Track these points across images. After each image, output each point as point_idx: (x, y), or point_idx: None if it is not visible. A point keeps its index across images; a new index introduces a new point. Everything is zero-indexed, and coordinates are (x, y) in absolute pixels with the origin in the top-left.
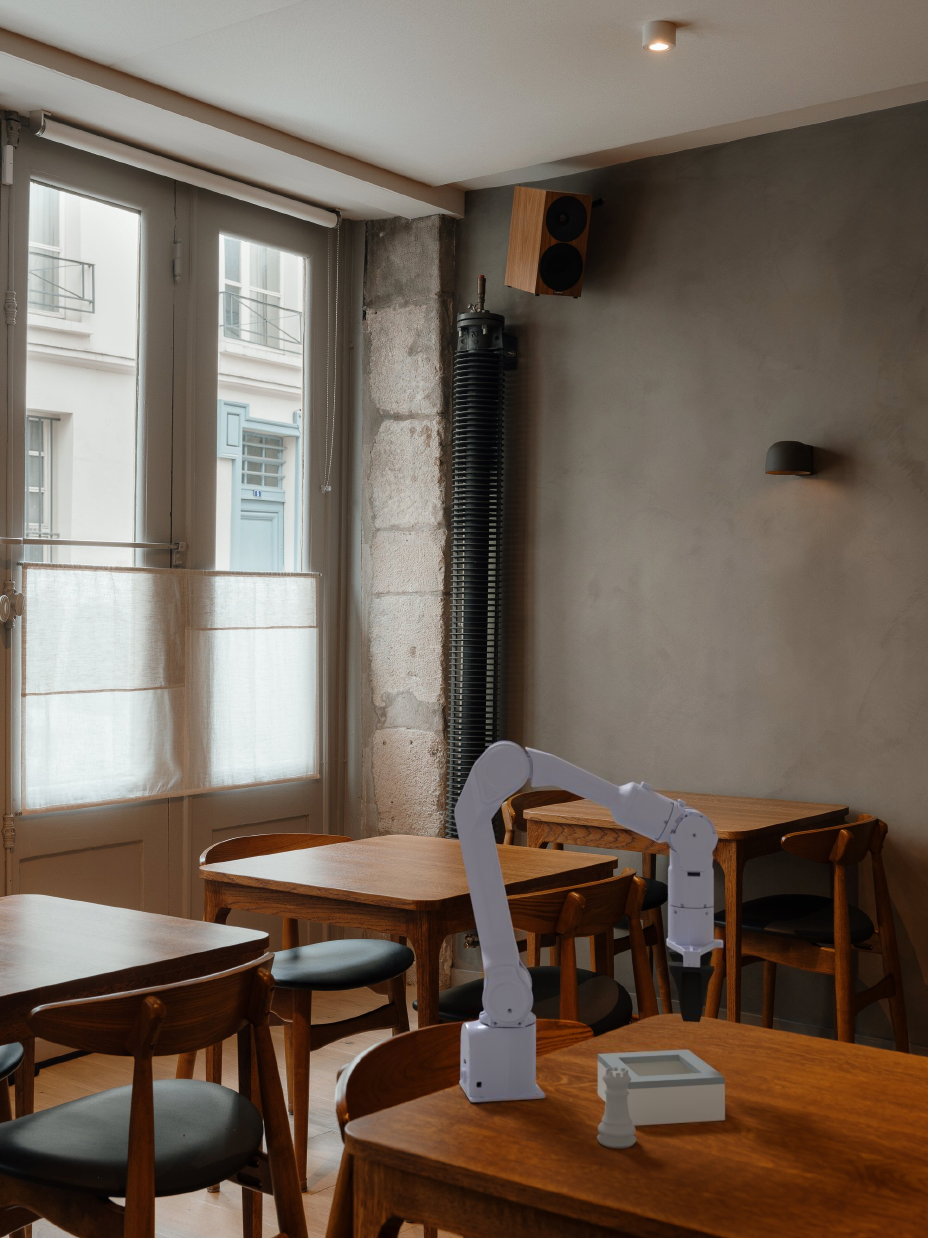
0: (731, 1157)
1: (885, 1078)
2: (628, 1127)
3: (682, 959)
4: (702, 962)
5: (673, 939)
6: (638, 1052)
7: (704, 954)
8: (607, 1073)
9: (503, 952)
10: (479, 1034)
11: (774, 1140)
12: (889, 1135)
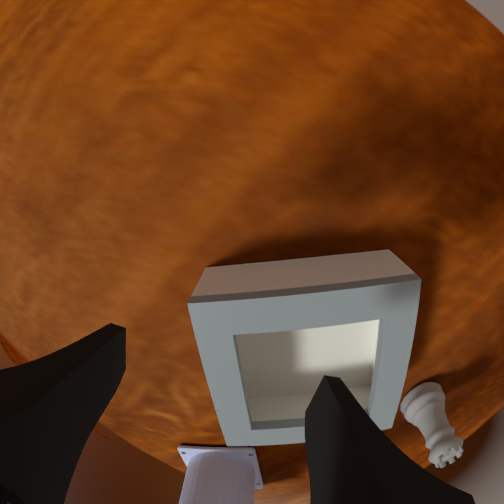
0: (500, 281)
1: None
2: (443, 401)
3: (51, 492)
4: (27, 437)
5: None
6: (215, 398)
7: (2, 463)
8: (444, 463)
9: None
10: None
11: (474, 200)
12: (458, 22)
